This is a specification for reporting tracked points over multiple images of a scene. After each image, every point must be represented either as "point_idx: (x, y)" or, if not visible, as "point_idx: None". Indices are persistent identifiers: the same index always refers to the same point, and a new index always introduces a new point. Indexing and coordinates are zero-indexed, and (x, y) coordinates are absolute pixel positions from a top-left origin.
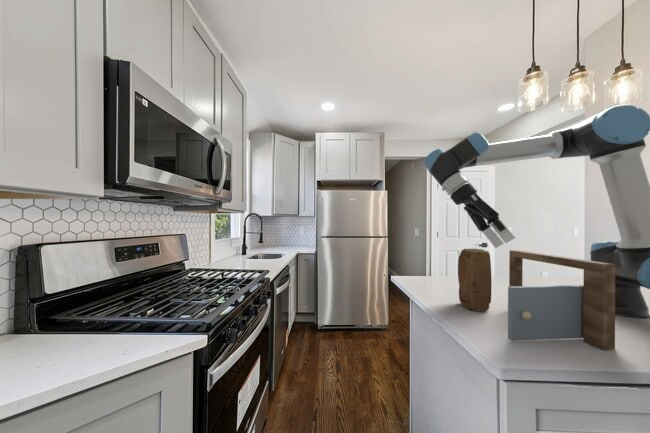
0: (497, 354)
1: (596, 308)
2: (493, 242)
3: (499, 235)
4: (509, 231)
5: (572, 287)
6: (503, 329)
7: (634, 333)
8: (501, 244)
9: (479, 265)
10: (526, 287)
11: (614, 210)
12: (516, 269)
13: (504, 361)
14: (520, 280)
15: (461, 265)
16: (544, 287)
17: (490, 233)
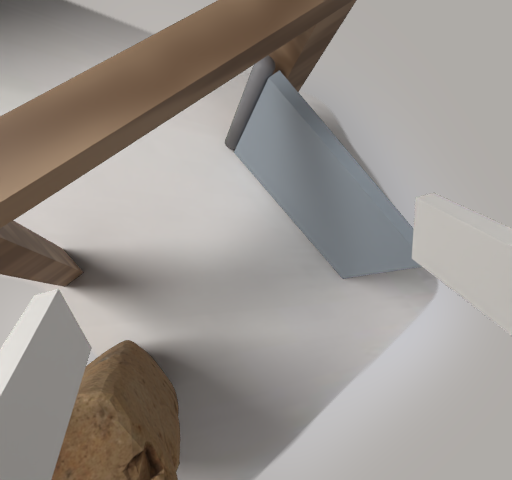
0: (411, 291)
1: (296, 85)
2: (74, 380)
3: (465, 294)
4: (479, 218)
5: (299, 97)
6: (276, 291)
7: (110, 31)
8: (68, 308)
9: (161, 419)
10: (404, 218)
11: None
12: (16, 237)
13: (428, 280)
14: (24, 231)
15: None
16: (364, 171)
17: (15, 452)
